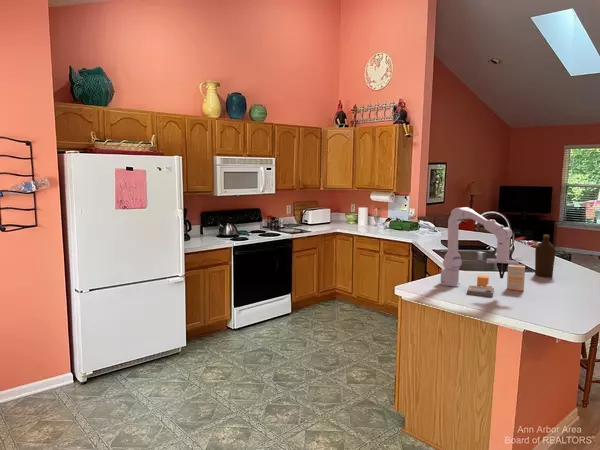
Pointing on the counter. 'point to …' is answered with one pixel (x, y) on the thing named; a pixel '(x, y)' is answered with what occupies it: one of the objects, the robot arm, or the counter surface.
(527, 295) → the counter surface
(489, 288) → the switch
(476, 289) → the breaker panel
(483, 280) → the cap
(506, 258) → the robot arm
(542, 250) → the olive oil
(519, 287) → the supplement box
